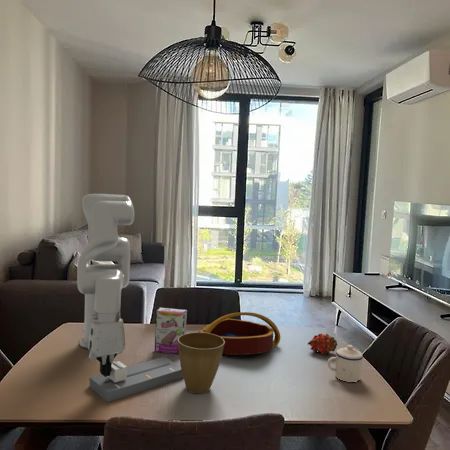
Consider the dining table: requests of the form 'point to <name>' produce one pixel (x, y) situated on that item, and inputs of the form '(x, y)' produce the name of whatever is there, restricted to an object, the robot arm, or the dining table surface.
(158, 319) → the candy bar box
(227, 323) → the decorative basket
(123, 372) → the fader knob
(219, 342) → the plant pot
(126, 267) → the robot arm
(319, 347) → the dragon fruit
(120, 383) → the fader panel
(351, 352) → the teacup with lid
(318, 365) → the dining table surface
